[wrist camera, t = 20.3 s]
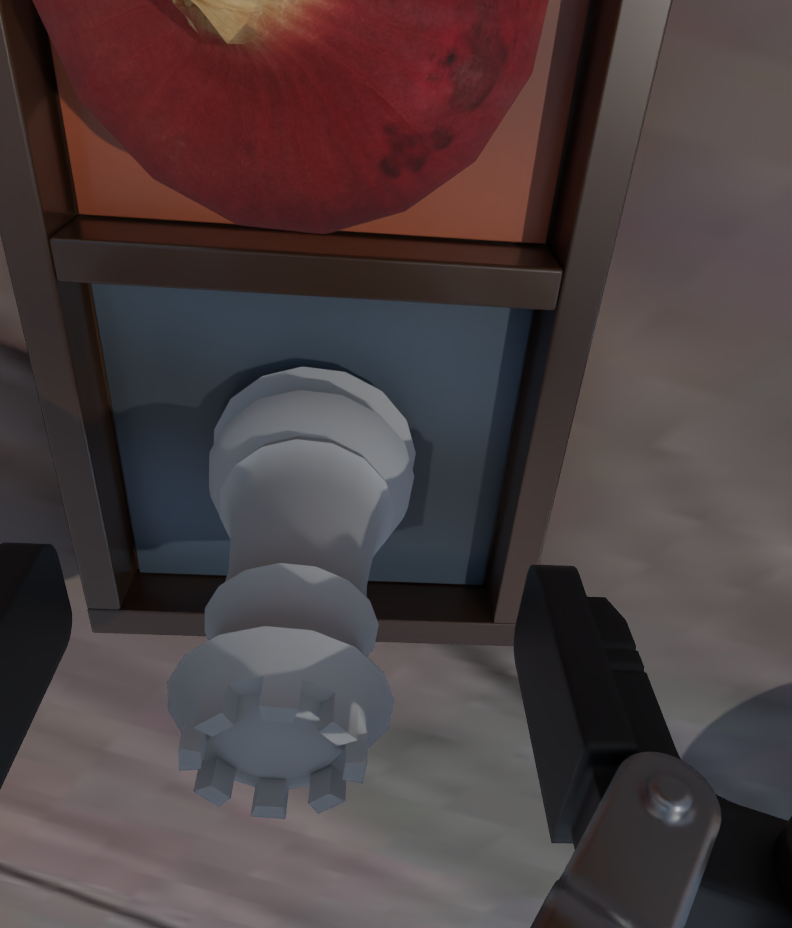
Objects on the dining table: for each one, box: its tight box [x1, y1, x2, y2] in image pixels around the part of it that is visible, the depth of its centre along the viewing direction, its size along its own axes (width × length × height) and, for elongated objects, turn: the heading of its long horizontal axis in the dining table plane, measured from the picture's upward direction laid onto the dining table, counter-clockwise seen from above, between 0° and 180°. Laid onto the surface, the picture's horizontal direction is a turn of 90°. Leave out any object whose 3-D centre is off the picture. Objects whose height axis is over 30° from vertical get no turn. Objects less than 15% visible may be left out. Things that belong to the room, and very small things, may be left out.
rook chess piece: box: [167, 367, 416, 819], centre depth 13 cm, size 4×4×8 cm
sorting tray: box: [0, 0, 672, 646], centre depth 14 cm, size 19×11×2 cm, turn 176°
